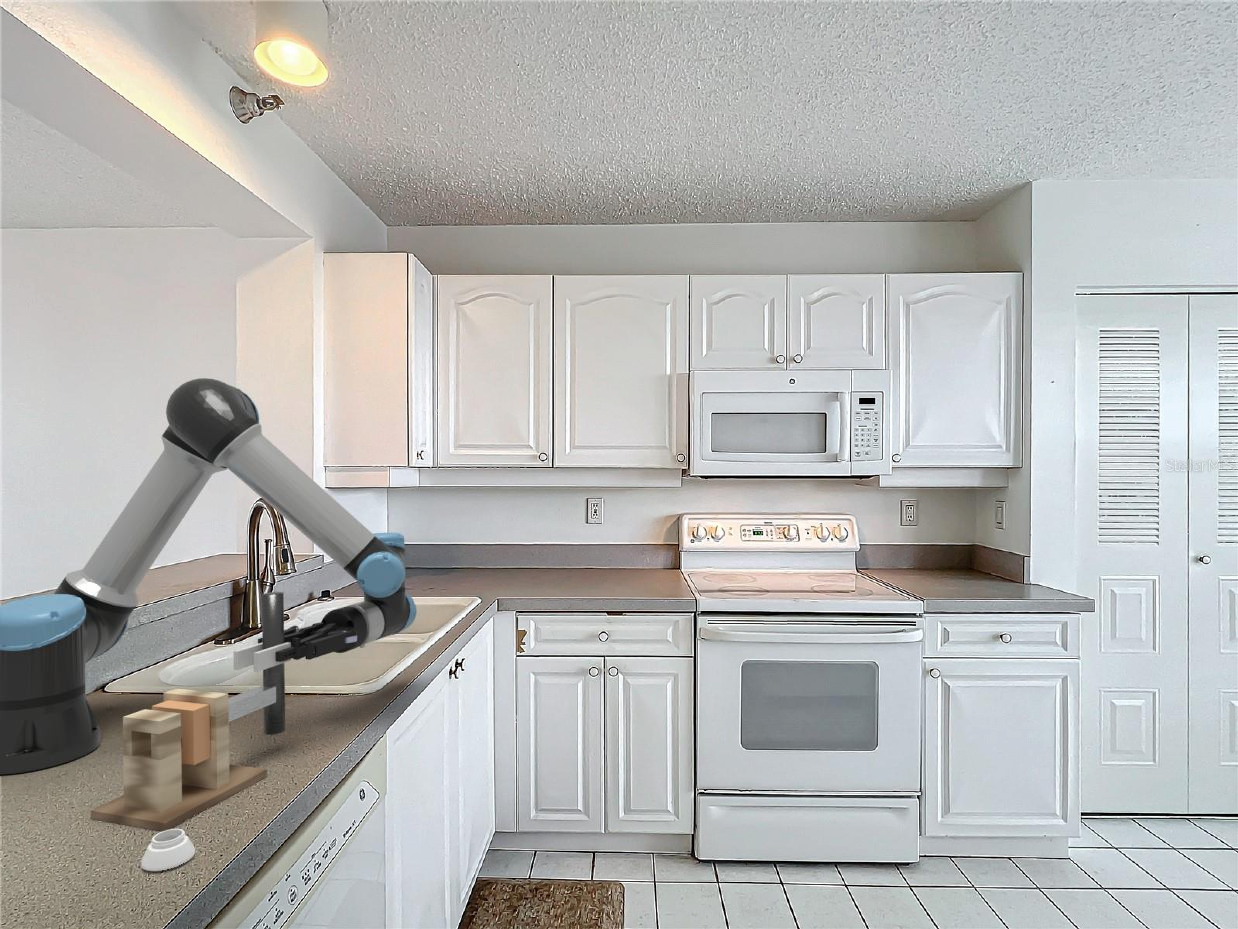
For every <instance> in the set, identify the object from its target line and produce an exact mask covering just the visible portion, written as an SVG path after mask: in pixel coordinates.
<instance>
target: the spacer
mask: <svg viewBox="0 0 1238 929" xmlns="http://www.w3.org/2000/svg"><path fill="white" fill-rule="evenodd" d="M151 710H156V711H165V712H174V713H181V724H182V740H181V763H182V764H189V765H196V764H198V763H200V762H202V761H204V760H206V759H208V758H210V705H209V704H200V703H190V702H181V701H172V700H168V701H165V702H164V701H162V702H159V703H157V704H154V705H151Z"/></svg>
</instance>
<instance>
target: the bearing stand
mask: <svg viewBox="0 0 1238 929" xmlns="http://www.w3.org/2000/svg"><path fill="white" fill-rule="evenodd" d="M162 695H163V702H165V701H168V700H172V701H181V702H190V703H200V704H209V705H210V758H208V759H206V760H204V761H202V762H200V763H198V764H196V765H189V764H182V763H181V740H182V739H181V713H174V712H165V711H156V710H152V709H146V708H145V709H141V710H139V711H137V712H133V713H131V714H128V715H125V716H123V717H122V746H123V748H122V750H123V751H122V755H123V757H122V758H123V762H122V764H123V795H121V796H119V797H116V798H115V799H113V800H110V801H109V802H106V803H104V804H102V805H100V806H97V807H96V808H92V809H91V810H90V820H91V819H92V820H97V821H101V822H102V821H103V822H109V823H114V824H118V825H124V826H125V825H126V826H131V827H136V828H141V829H149V830H154V831H158V832H159V831H160V832H163V831H166V830H170V829H174V828H175V827H176V825H177V826H179V825H180V824H182V823H184V822H185V820H186V821H188V820H190V819H191V818H193V817H195V816H197V815H199V814H200V812H201V811H202V812H205V811H206V810H208V809H209V808H211V807H213V805H214V806H215V805H217V804H219V803H220V802H222V801H224V800H227V799H228V798H230V797H232V796H234V795H236V794H237V792H238V793H239V792H241V791H243V790H245V789H247V788H248V787H251V786H252V785H255V784H256V783H258V782H260V781H262V780H264V779H265V778H267V777H268V772H267V771H268V769H266V768H259V767H258V768H257V767H251V766H243V765H237V764H235V765H234V764H230V726H229V725H230V722H229V706H228V698H229V693H224V692H215V691H205V690H197V689H196V690H195V689H185V688H174V689H171V690H167V691H165V692H163V694H162ZM233 794H234V795H233ZM207 808H208V809H207ZM205 809H206V810H205ZM202 812H201V813H202ZM198 813H199V814H198ZM196 814H197V815H196ZM194 815H195V816H194ZM192 816H193V817H192ZM187 819H188V820H187ZM183 821H184V822H183Z"/></svg>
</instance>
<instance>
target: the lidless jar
mask: <svg viewBox="0 0 1238 929" xmlns="http://www.w3.org/2000/svg"><path fill="white" fill-rule="evenodd" d="M150 842H151V843H150V844H149V845H148V846H147V848H146V850H145V852H144V854H143V856H142V858H141V860H140V865H141V866H140V867H141V869H143V870H145V871H149V872H162V870H164V871H168V870H167V869H169V870H171V868H172V869H174V867H175V868H177V867H180V866H182V865H184V864H186V862H188V861H190V860H191V859H193V857H194V855H195V854H196V848H195V844H193V842H192V841H191V839H190V838H189V837H188V835H186V832H185V830H184V829H181V828H171V829H169V830H166V831H160V832H158V833H157V834H155V835H154V836H152V838H151V841H150ZM183 863H184V864H183ZM181 864H182V865H181ZM179 865H180V866H179Z"/></svg>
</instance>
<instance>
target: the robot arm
mask: <svg viewBox="0 0 1238 929" xmlns="http://www.w3.org/2000/svg"><path fill="white" fill-rule="evenodd" d="M165 410H166V411H165V415H166V420H167V423H168V426H167V427H166V429H165V430H164V432H163V434H162V435H161V441H162V444H163V446H164V447H163V451H162V452H161V454H160V455H159V457H158V458H157V460H156V462H154V464H153V465H152V467H151V469H150V470H149V471H148V472H147V475H145V477H144V478H143V480H142V482H141V484H140V485H139V486H138V488H137V489H136V490H135V492H134V493H133V494H132V497H131V498H130V499H129V501H128V502H127V503H126V505H125V506H124V508H123V510H122V511H121V512H120V514H119V515H118V517H117V518H116V520H114V523H113V524H112V526H111V527H110V529H109V530H108V532H107V533H106V534H105V535H104V537H103V539H102V540H101V542H100V543H99V545H98V546H97V548H96V549H95V550H94V552H93V554H92V555H91V557H90V558H89V560H88V561H87V563H86V564H85V565H84V566H83V568H82V569H78V570H75V571H71V572H68V573H66V575H65V577H64V578H63V579H62V581H61V582H60V584H59V585H58V587H57V588H56V590H55V591H54V593H53V594H43V595H42V594H41V595H35V596H29V597H25V598H23V599H17V600H13V601H10V602H7V603H5V604H2V605H0V775H11V774H20V773H28V772H33V771H38V770H43V769H48V768H51V767H55V766H58V765H62V764H64V763H68V762H71V761H74V760H77V759H79V758H81V757H83V756H85V755H88V754H89V753H91V752H93V751H94V750H96V749H97V748H98V747H99V745H101V730H100V729H101V728H100V727H99V724H98V722H97V720H96V717H95V715H94V712H93V710H92V708H91V706H90V705H91V704H89V702H88V699H87V696H86V695H87V694H86V693H87V692H86V664H87V663H88V662H90V661H91V660H93V659H95V658H98V657H100V656H102V655H103V654H106V653H107V652H108V651H110V650H111V649H112V648H113V647H115V645H116V644H117V643H119V641H120V640H121V639H122V637H123V636H124V634H125V632H126V631H127V628H128V626H129V620H130V619H129V618H130V616H131V614H132V613H133V611H135V608H136V607H137V605H138V604H139V599H138V596H137V592H136V590H137V588H138V587H139V585H140V584H141V582H142V581H143V579H144V578H145V576H146V574H147V573H148V572H149V571H150V569H151V567H152V565H153V564H154V563H155V561H156V559H157V558H158V557H159V555H160V554H161V552H162V551H163V549H164V548H165V546H166V545H167V543H168V542H169V540H170V538H171V537H172V536H173V534H175V533H174V532H176V530H177V528H178V527H179V525H180V524H181V522H182V521H183V519H184V518H185V517H186V514H187V513H188V511H189V510H190V508H191V507H192V505H193V504H194V503H195V501H196V500H197V498H198V497H199V496H200V493H201V492H202V491H203V489H204V488H205V486H206V484H208V482H209V481H210V479H211V477H212V475H213V474H215V473H219V472H223V471H226V470H229V471H230V472H231V473H233V474H234V475H235V476H236V477H237V478H238V480H240V481H241V482H243V483H244V484H245V485H246V486H247V487H249V489H251V490H252V491H253V492H255V494H257V495H258V496H259V497H260V498H261V499H262V500H264V501H265V502H266V503H267V504H268V505H269V506H271V507H272V508H273V509H274V510H275V511H276V512H278V514H280V515H281V516H282V517H283V518H284V519H286V520H287V521H288V522H289V523H290V524H291V525H292V526H294V527H295V528H296V529H297V530H299V531H300V532H301V533H302V535H305V537H306V538H307V539H308V540H310V541H311V542H312V543H313V544H314V545H316V546H317V547H318V548H319V549H320V550H321V551H322V552H323V553H325V554H326V555H327V556H328V557H330V559H332V560H333V561H334V562H335V563H336V564H338V565H339V566H340V567H341V568H342V569H343V570H344V571H345V572H346V573H347V574H348V575H349V576H350V577H352V578H353V579H354V580H355V581H356V582H357V584H358V586H359V588H360V589H361V590H362V592H363V601H359V602H356V603H352V604H349V605H346V606H343V607H338V608H336V609H332V610H330V611H328V612H327V613H326V614H325V615H324V617H323V618H322V619H321V621H320V622H316V623H313V624H312V625H309V626H305V627H301V628H300V627H299V626H298V625H293V626H290V627H288V628H287V629H284V643H283V644H280V645H277V646H274V647H271V648H268V649H264V650H263V642H262V637H260V638H257V643H256V644H253V645H250V646H249V645H248V646H246V647H242V648H239V649H236V650H233V671H239V670H242V669H245V668H248V667H251V666H253V672H255V673H256V672H257V673H258V672H261V671H262V672H263V670H265V669H268V668H270V667H273V666H276V665H279V664H282V663H284V664H285V663H288V662H290V661H292V660H295V661H298V660H301V659H303V658H305V660H308V661H309V660H313V659H316V658H319V657H321V656H325V655H329V654H332V653H336V654H342V653H346V652H350V651H352V650H354V649H357V648H360V649H362V648H365V646H366V645H367V644H370V643H372V642H375V641H379V640H380V639H381V640H382V639H384V638H387V637H390V636H395V635H397V634H399V633H400V632H403V631H404V630H406V629H407V628H409V627H410V626H411V625H412V624H413V623H414V622H415V619H416V616H417V612H418V611H417V605H416V604H415V601H414V598H413V597H412V596H411V595H410V594H408V593H407V591H406V546H405V536H404V535H403V534H402V533H401V532H376V533H372V532H371V531H370V530H369V529H368V528H367V527H366V526H364V525H363V524H362V522H361V521H359V520H358V519H357V518H356V517H355V516H354V515H352V513H350V512H349V511H348V510H347V509H346V508H345V507H343V506H342V505H341V504H340V503H339V502H338V501H337V500H336V499H335V498H334V497H332V496H331V495H330V494H329V493H328V492H327V491H326V490H325V489H323V488H322V487H321V486H320V485H319V484H318V483H317V482H316V481H314V480H313V479H312V478H311V477H310V476H309V475H308V474H307V473H306V472H304V471H303V470H302V469H301V468H300V467H299V466H298V465H296V463H295V462H293V461H292V459H290V458H289V457H288V456H287V455H285V453H284V452H282V451H281V450H280V449H279V448H278V447H277V446H276V445H274V444H273V442H271V441H270V440H269V439H268V438H267V437H266V436H264V435H263V433H262V431H263V430H262V425H261V424H260V414H259V411H258V408H257V406H256V404H255V402H254V401H253V400H252V398H251V397H250V396H249V395H248V394H247V393H245V392H244V391H242V390H241V389H240V388H237V387H236V386H233V385H230V384H228V383H225V382H223V381H222V380H217V379H214V378H206V377H205V378H202V377H201V378H195V379H192V380H188V381H186V382H184V383H182V384H181V385H180V386H178V387H177V388H176V389H174V390H173V392H172V394H171V395H170V396H169V398H168V401H167V405H166V409H165Z"/></svg>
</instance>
